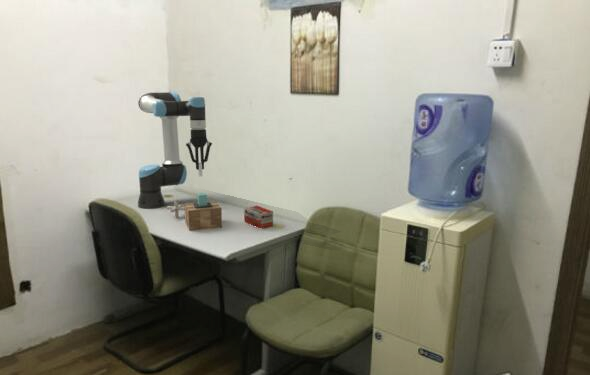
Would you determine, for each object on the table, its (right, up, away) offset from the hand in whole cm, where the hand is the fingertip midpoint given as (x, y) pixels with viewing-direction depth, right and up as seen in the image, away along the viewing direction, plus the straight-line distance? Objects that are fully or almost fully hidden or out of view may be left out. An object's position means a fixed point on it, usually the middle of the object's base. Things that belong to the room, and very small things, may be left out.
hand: (200, 175), depth 229 cm
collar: (+1, -15, -1) cm, 15 cm away
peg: (+1, -17, 0) cm, 17 cm away
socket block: (+1, -25, +1) cm, 25 cm away
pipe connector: (-16, -22, +14) cm, 30 cm away
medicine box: (+29, -25, +4) cm, 39 cm away
